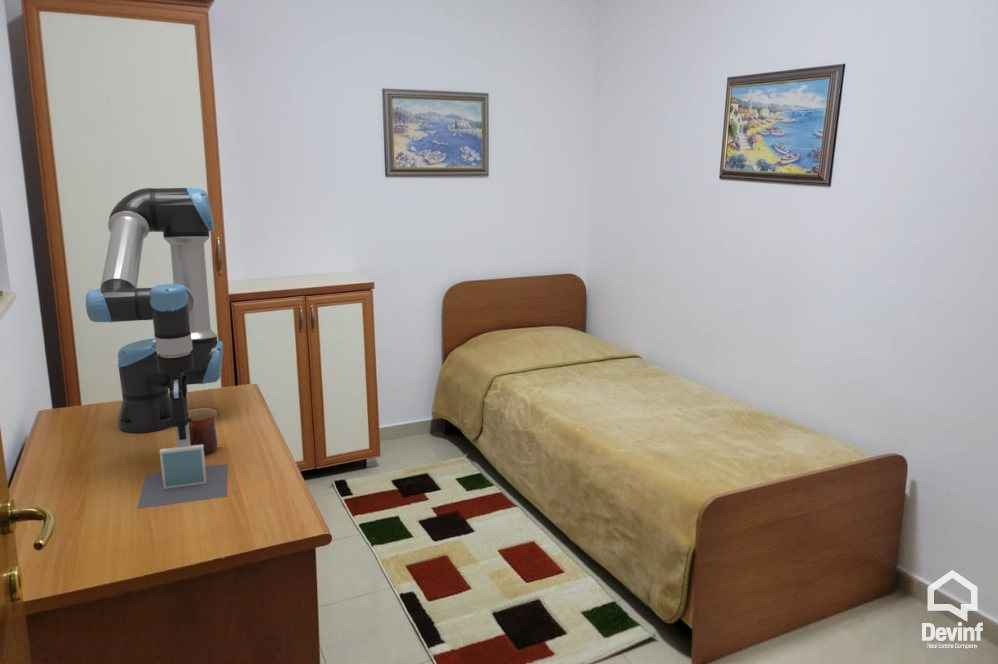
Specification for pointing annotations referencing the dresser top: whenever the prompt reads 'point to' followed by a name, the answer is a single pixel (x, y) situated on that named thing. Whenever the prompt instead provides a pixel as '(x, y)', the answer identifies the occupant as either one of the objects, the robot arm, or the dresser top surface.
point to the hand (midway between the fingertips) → (184, 450)
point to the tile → (183, 466)
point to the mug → (203, 429)
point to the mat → (184, 488)
